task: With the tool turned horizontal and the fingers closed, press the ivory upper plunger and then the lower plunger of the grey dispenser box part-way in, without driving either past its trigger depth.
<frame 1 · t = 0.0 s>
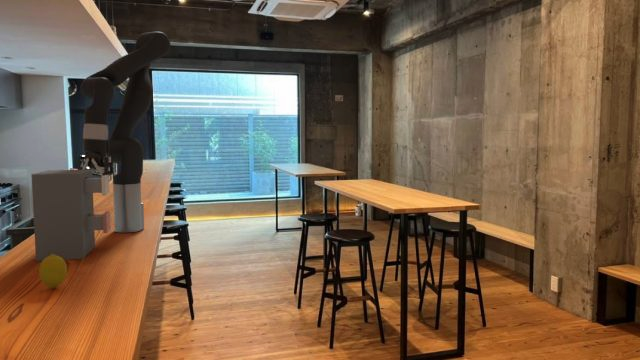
hand: (94, 187, 154), 17 cm above the counter, tool pointing down, fingers open, 8 cm apart
lemon: (54, 289, 106), on the counter
upper plunger: (90, 185, 135), point 20 cm above the counter, slide at 0.0 cm
grey dispenser box: (67, 253, 135), on the counter
lower plunger: (92, 222, 136), point 9 cm above the counter, slide at 0.0 cm
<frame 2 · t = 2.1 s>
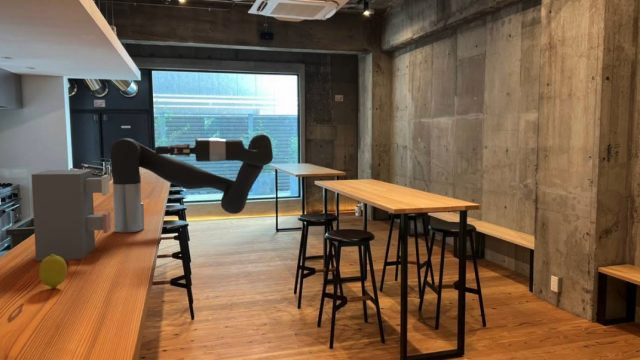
hand: (156, 150, 145), 30 cm above the counter, tool horizontal, fingers open, 6 cm apart
nothing on the counter moved.
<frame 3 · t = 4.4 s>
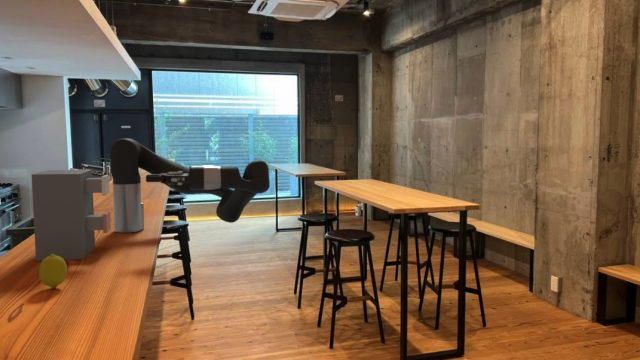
hand: (146, 178, 139), 22 cm above the counter, tool horizontal, fingers closed
nothing on the counter moved.
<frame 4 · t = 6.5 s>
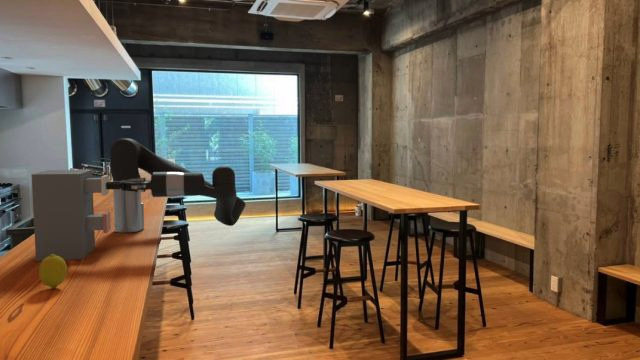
hand: (106, 185, 136), 20 cm above the counter, tool horizontal, fingers closed
upper plunger: (90, 185, 135), point 20 cm above the counter, slide at 0.1 cm, touching gripper
everything else where it was.
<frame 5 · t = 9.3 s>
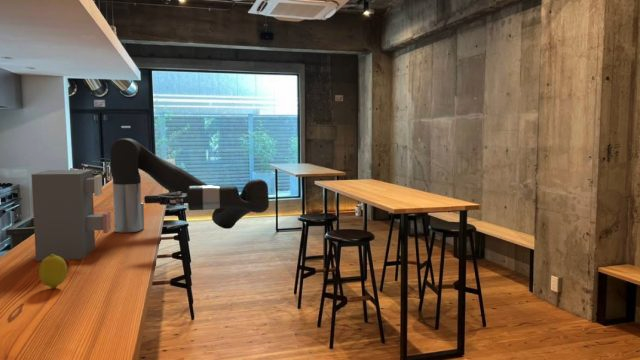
hand: (144, 199, 139), 16 cm above the counter, tool horizontal, fingers closed
upper plunger: (83, 185, 134), point 20 cm above the counter, slide at 2.0 cm
everything else where it was.
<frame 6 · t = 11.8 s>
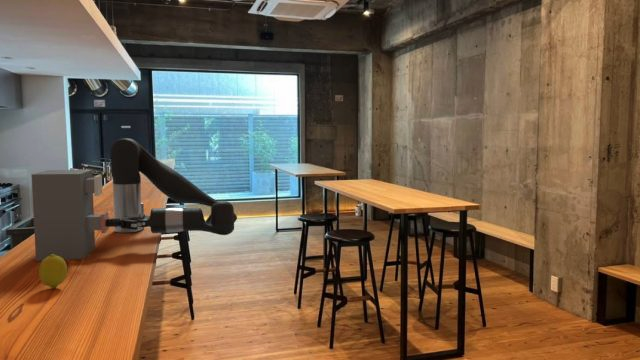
hand: (106, 222, 137), 9 cm above the counter, tool horizontal, fingers closed
lower plunger: (89, 222, 136), point 9 cm above the counter, slide at 0.6 cm, touching gripper
everything else where it was.
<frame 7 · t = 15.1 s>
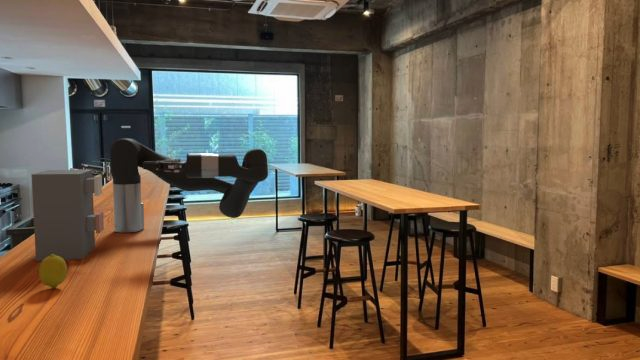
hand: (143, 165, 138), 26 cm above the counter, tool horizontal, fingers closed
lower plunger: (84, 222, 136), point 9 cm above the counter, slide at 2.0 cm
everything else where it was.
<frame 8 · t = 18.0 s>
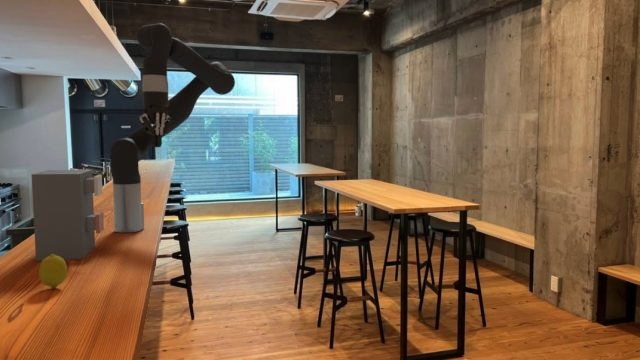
hand: (156, 147, 144), 31 cm above the counter, tool pointing down, fingers closed
nothing on the counter moved.
at the end: upper plunger slide at 2.0 cm; lower plunger slide at 2.0 cm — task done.
